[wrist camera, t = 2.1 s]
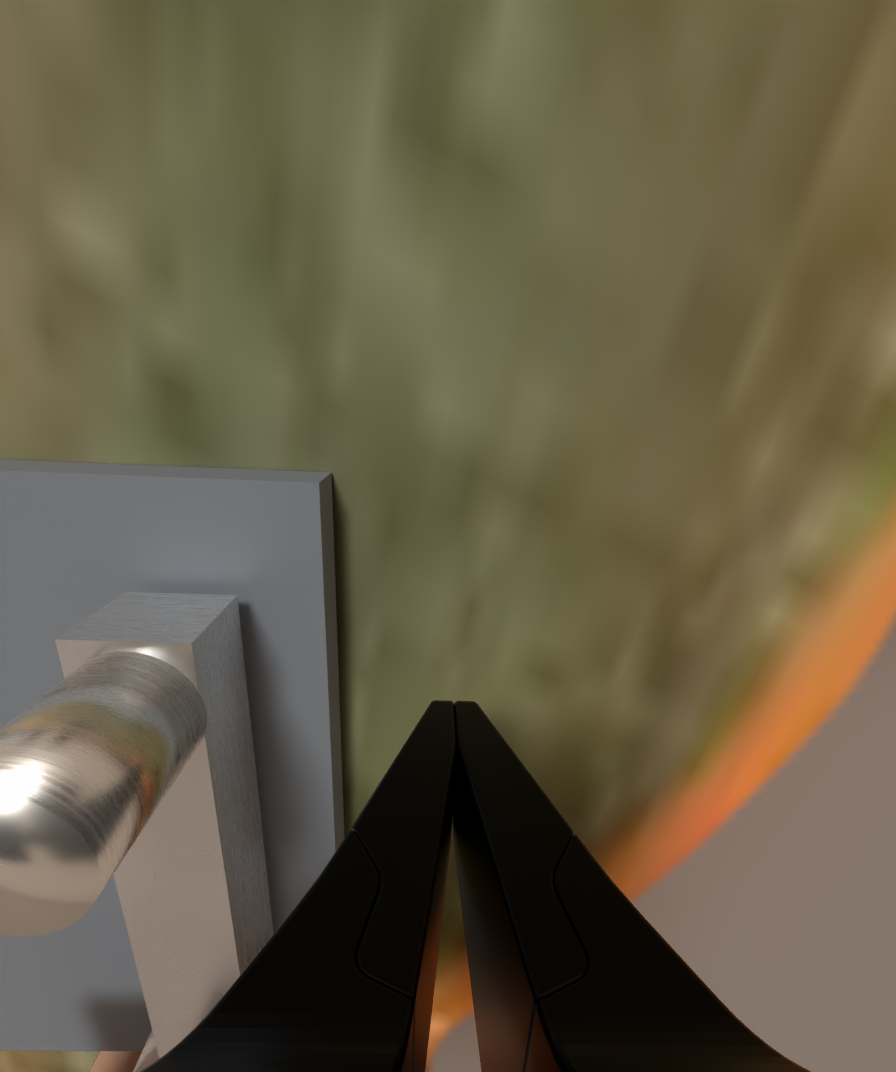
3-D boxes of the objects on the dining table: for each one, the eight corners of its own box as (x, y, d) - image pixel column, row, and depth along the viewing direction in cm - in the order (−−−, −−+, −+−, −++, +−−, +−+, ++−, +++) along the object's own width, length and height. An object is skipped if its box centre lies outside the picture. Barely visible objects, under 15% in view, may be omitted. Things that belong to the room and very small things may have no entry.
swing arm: (323, 1059, 16) (272, 1353, 11) (177, 1058, 16) (62, 1355, 11) (291, 597, 10) (166, 779, 6) (69, 590, 10) (-250, 771, 6)
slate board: (-153, 1004, 17) (-204, 1057, 16) (-469, 441, 11) (-598, 449, 9) (350, 1008, 17) (343, 1060, 16) (331, 472, 11) (316, 484, 10)
